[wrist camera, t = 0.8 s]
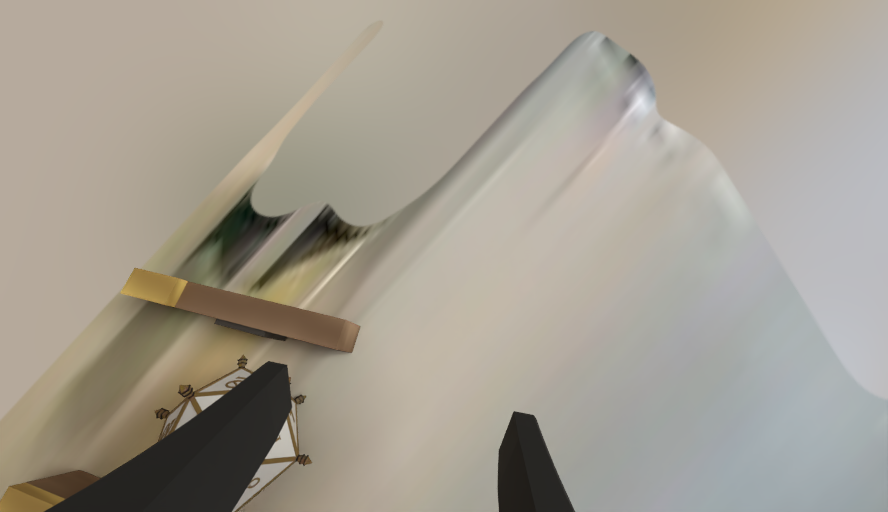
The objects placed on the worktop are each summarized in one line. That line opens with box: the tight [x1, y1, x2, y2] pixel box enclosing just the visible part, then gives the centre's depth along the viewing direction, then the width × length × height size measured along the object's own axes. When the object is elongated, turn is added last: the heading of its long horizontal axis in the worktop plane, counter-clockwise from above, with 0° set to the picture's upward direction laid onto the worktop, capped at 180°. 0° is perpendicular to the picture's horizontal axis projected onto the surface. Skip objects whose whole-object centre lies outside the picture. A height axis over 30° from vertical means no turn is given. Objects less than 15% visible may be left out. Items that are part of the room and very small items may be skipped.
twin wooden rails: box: [0, 268, 360, 512], centre depth 22 cm, size 16×17×4 cm
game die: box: [155, 355, 312, 512], centre depth 20 cm, size 9×8×10 cm
